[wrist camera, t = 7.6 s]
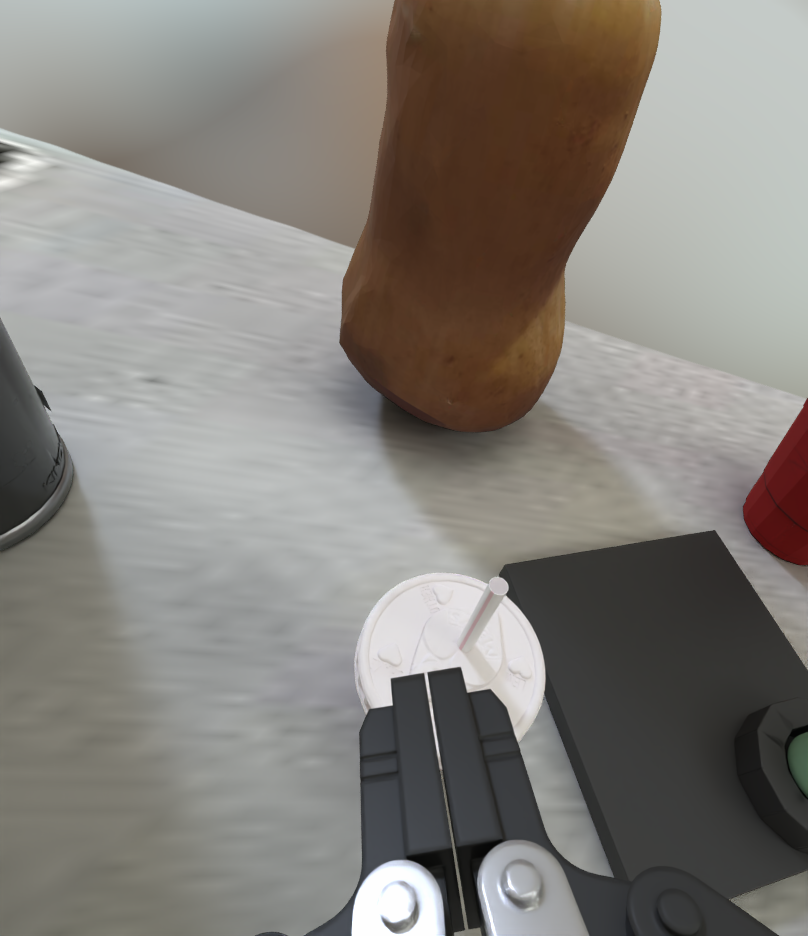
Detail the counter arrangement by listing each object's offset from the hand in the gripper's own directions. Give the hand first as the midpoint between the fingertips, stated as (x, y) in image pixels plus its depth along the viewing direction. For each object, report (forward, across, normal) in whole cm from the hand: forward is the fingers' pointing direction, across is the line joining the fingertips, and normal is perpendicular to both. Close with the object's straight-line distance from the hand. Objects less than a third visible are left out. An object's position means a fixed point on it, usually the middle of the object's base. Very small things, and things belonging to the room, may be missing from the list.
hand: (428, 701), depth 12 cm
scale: (+12, -13, +15) cm, 23 cm away
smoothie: (+10, +1, +13) cm, 16 cm away
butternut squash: (+30, -4, +4) cm, 30 cm away
